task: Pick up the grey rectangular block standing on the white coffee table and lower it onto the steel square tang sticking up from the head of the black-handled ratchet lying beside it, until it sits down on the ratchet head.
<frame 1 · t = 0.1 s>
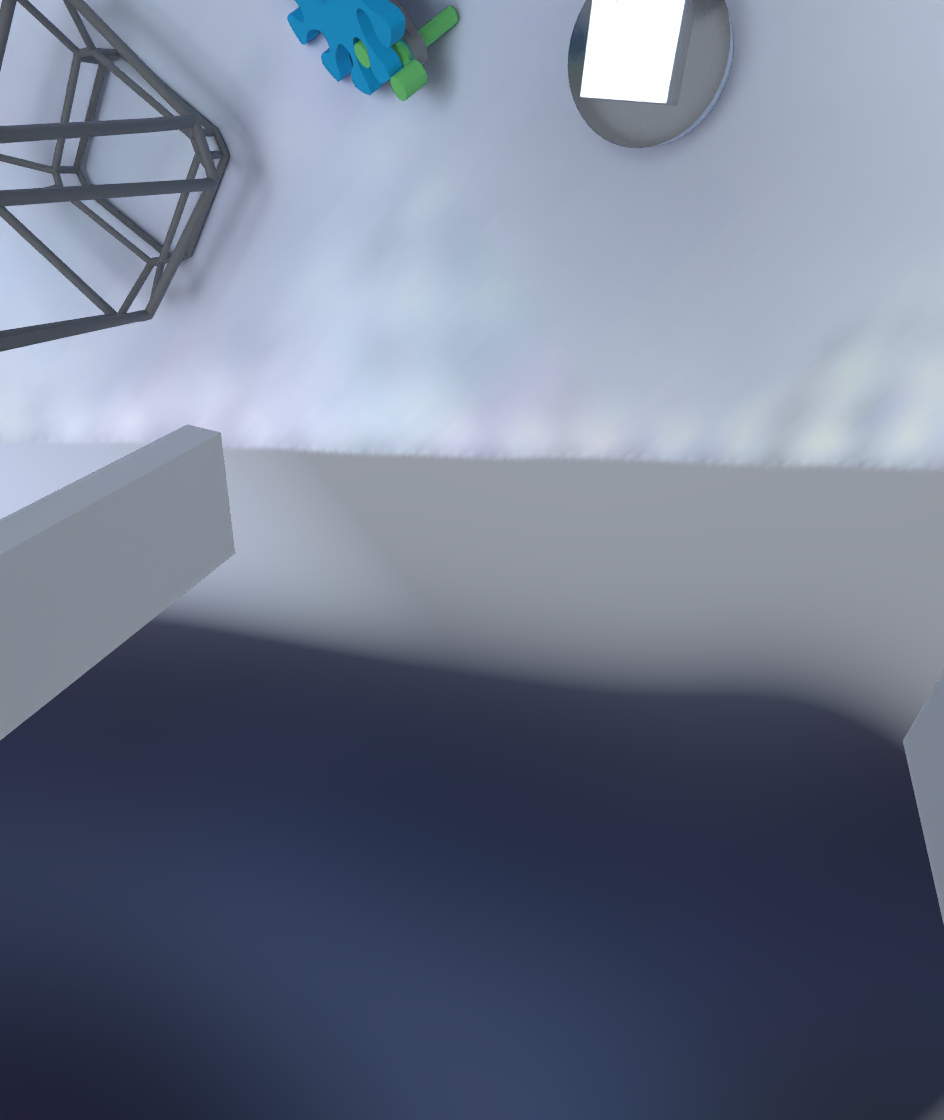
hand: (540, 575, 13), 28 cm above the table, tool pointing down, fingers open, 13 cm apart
geometric lantern: (151, 157, 41), on the table
ratchet: (655, 61, 31), on the table
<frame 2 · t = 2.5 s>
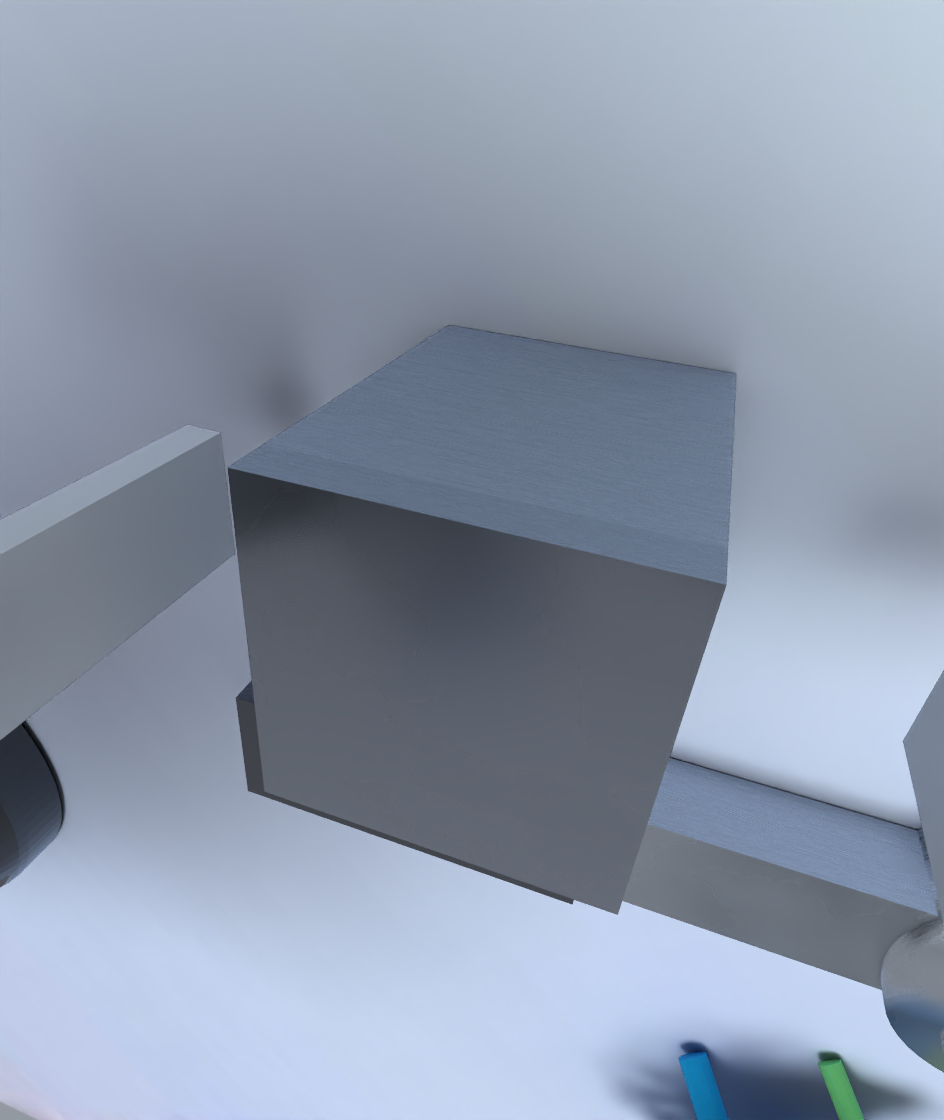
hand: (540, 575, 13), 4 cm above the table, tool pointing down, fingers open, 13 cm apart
gear: (760, 1094, 26), on the table
grey rectangular block: (564, 479, 16), on the table
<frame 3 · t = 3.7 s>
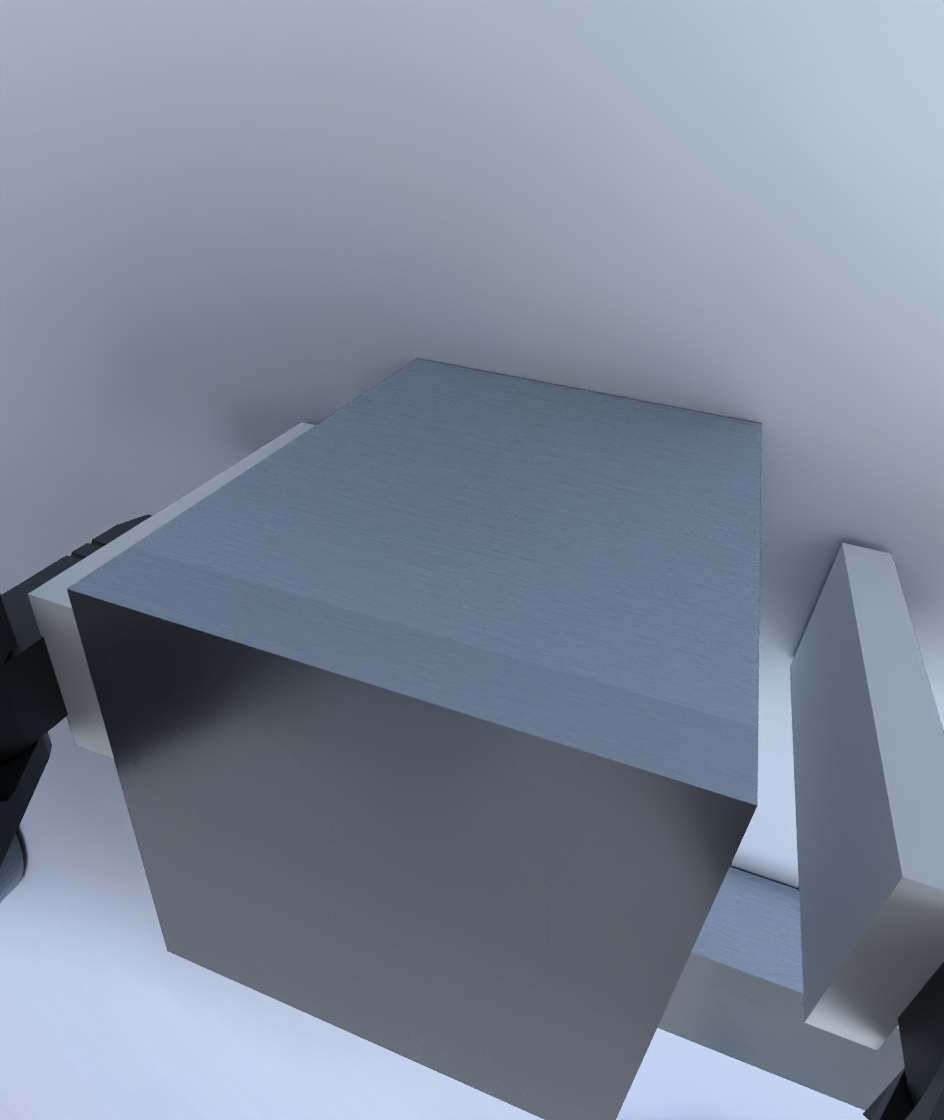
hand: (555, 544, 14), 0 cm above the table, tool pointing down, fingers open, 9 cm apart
grey rectangular block: (554, 539, 14), on the table
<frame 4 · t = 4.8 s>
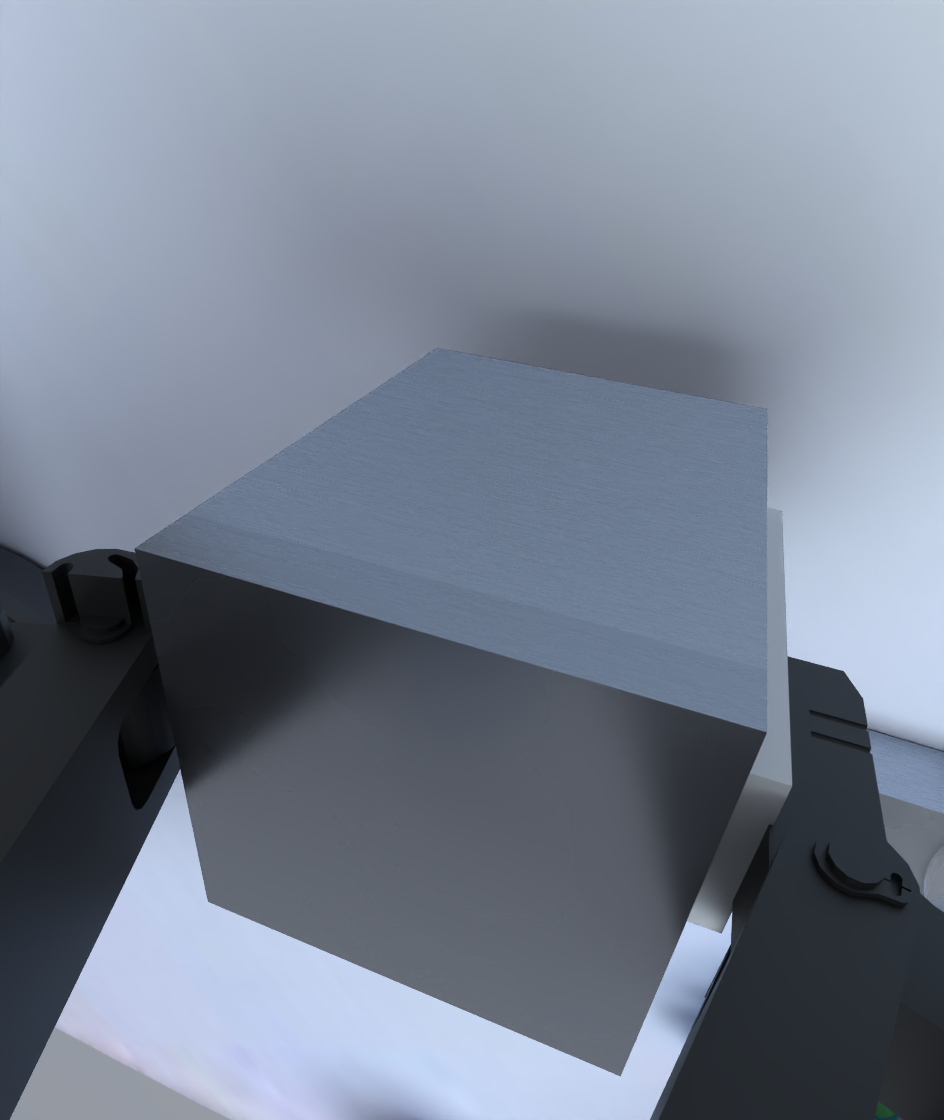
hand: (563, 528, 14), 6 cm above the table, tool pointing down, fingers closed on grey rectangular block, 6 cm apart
grey rectangular block: (567, 522, 14), point 5 cm above the table, touching gripper
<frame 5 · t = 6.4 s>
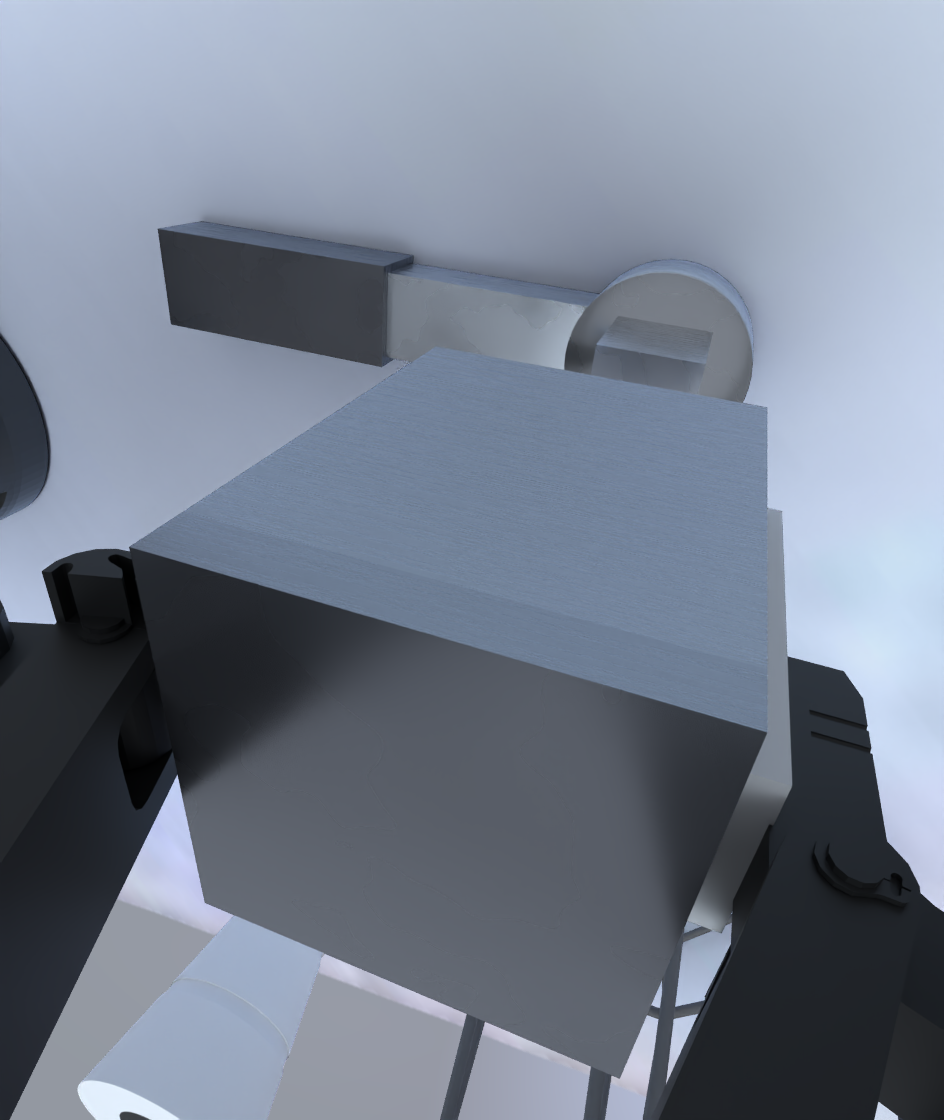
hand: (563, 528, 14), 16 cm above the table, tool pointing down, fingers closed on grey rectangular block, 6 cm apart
geometric lantern: (655, 848, 41), on the table
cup: (323, 863, 54), on the table
grey rectangular block: (566, 521, 14), point 16 cm above the table, touching gripper
ratchet: (663, 349, 27), on the table
when the fingers open (4 cm above the table, at t = 8.4 s): grey rectangular block stays where it is, resting on ratchet.
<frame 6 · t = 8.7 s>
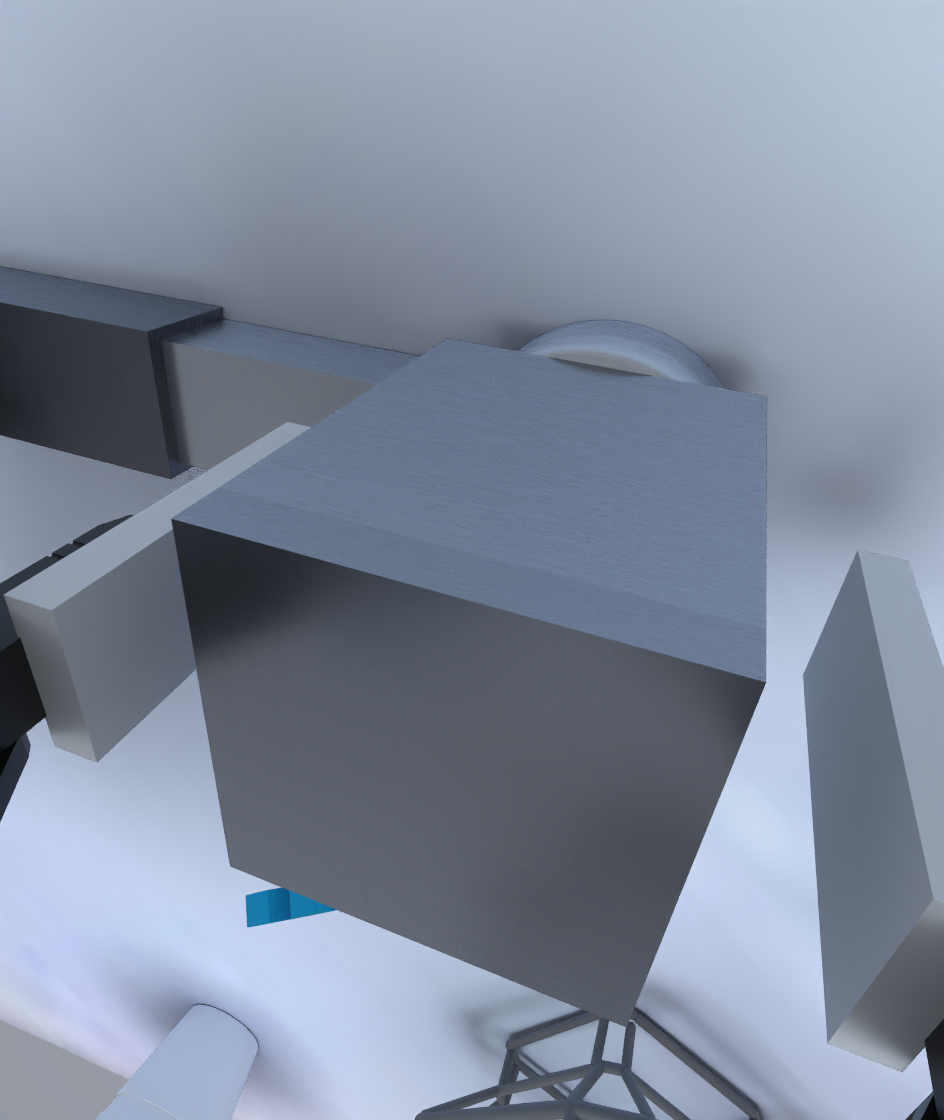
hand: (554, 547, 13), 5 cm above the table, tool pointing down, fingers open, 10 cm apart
geometric lantern: (624, 1072, 31), on the table
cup: (226, 1026, 44), on the table
gear: (468, 781, 25), on the table
grey rectangular block: (573, 508, 15), point 3 cm above the table, touching ratchet
ratchet: (600, 456, 17), on the table
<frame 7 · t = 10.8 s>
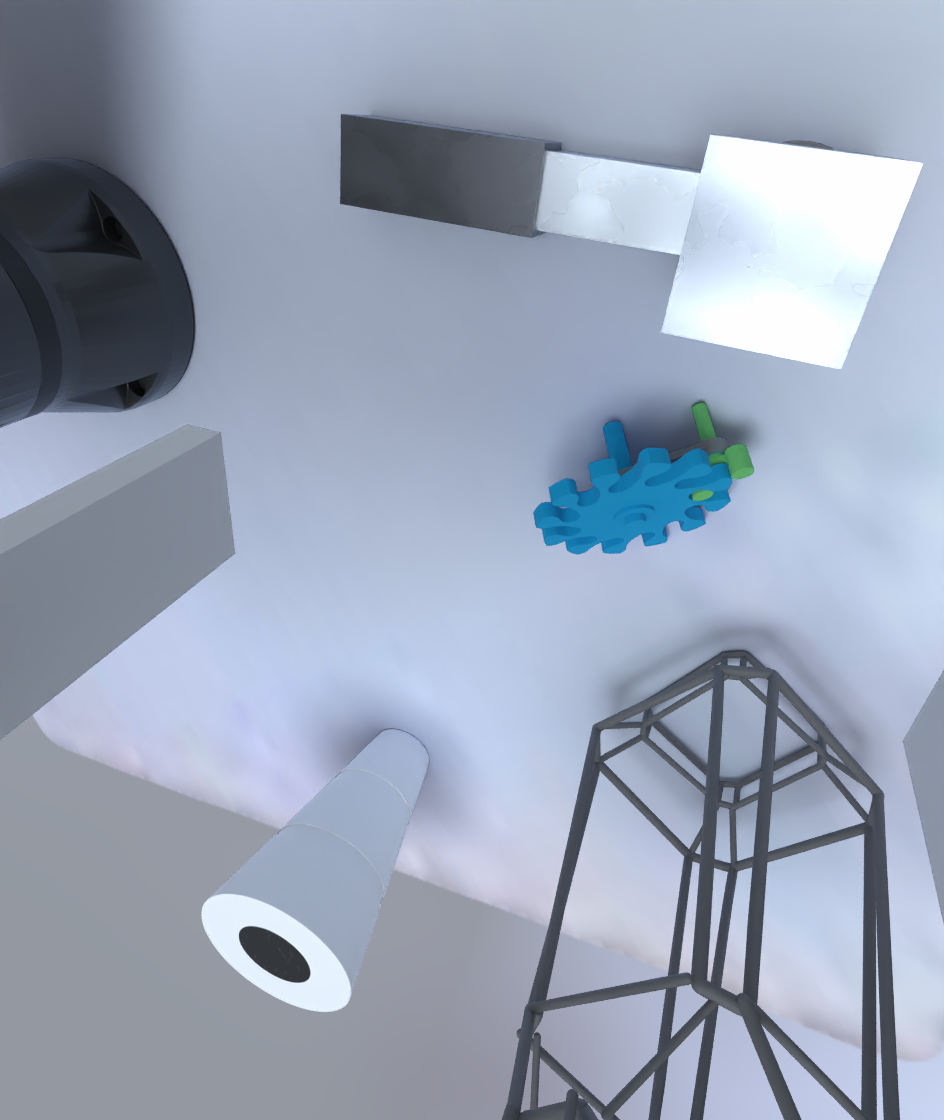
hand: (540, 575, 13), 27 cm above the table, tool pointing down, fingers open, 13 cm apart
geometric lantern: (728, 718, 45), on the table
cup: (403, 750, 58), on the table
gear: (653, 472, 39), on the table
grey rectangular block: (780, 230, 29), point 3 cm above the table, touching ratchet
ratchet: (781, 224, 31), on the table
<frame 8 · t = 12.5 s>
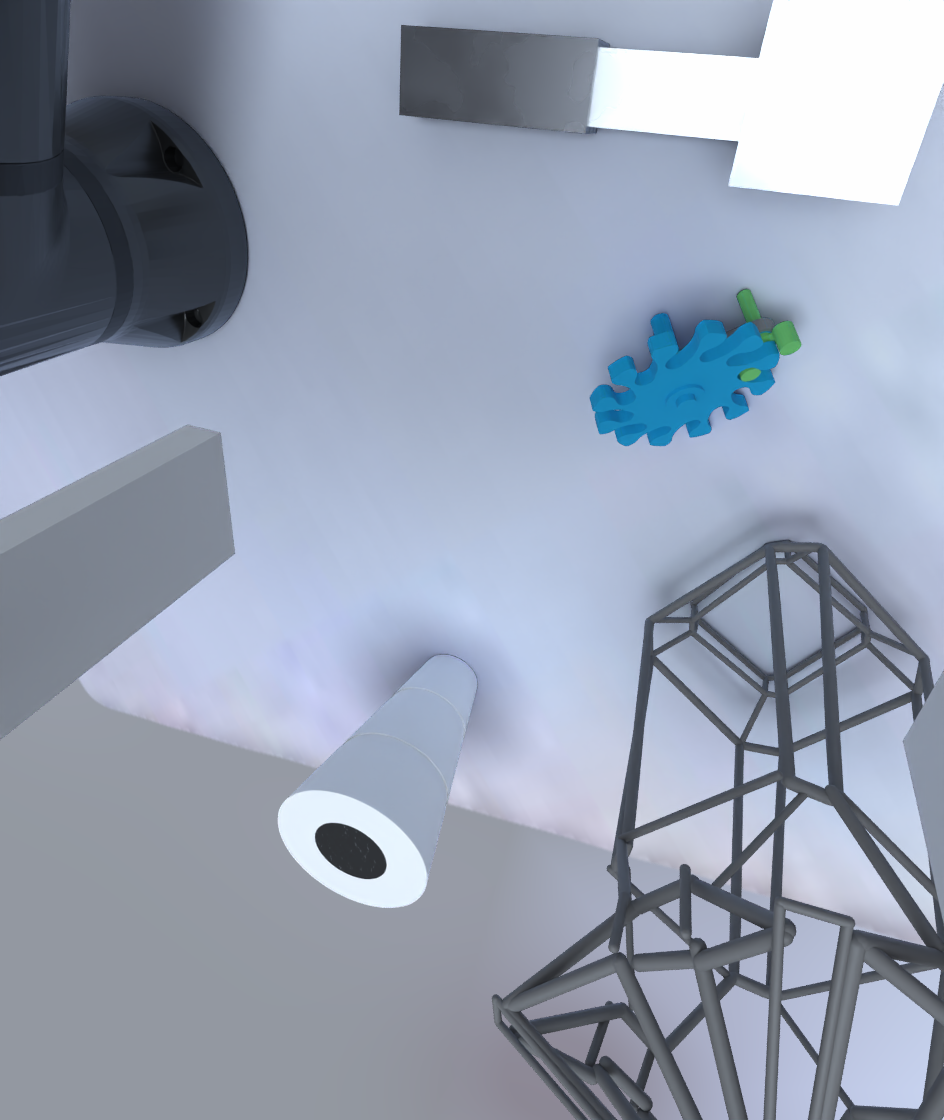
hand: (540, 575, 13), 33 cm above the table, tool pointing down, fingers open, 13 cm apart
geometric lantern: (772, 611, 48), on the table
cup: (451, 676, 60), on the table
gear: (697, 365, 42), on the table
grey rectangular block: (824, 106, 31), point 3 cm above the table, touching ratchet
ratchet: (820, 108, 34), on the table
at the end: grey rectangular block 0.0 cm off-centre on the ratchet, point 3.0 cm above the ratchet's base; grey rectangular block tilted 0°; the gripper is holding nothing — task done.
